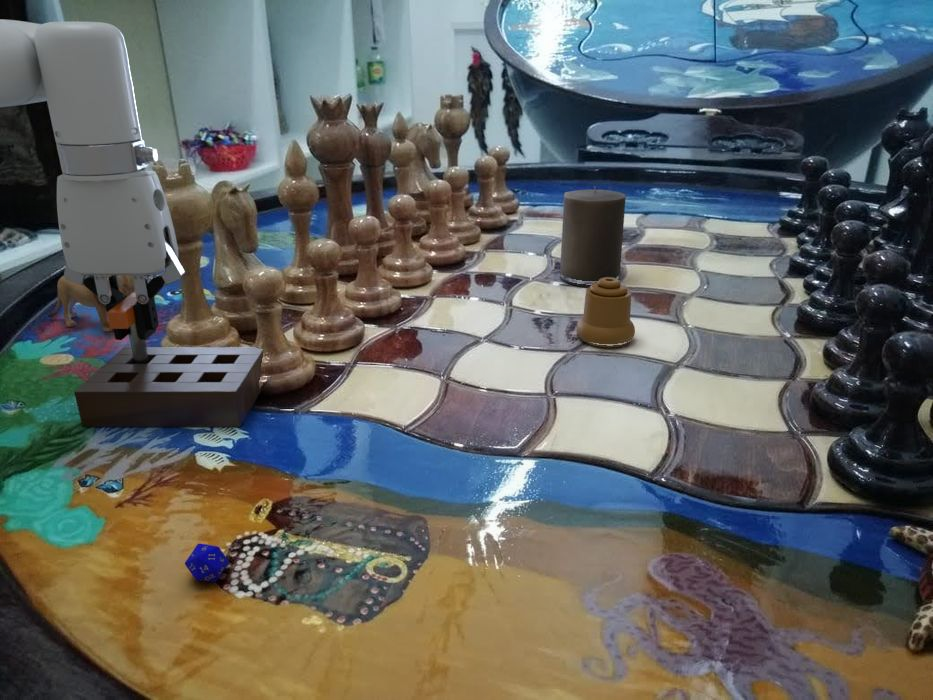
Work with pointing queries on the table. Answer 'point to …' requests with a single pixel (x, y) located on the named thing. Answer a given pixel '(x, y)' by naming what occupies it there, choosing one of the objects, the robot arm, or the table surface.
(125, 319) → the t handle
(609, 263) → the pillar candle
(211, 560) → the die
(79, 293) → the lion figurine
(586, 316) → the ornamental finial
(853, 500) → the table surface
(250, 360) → the tool rack
